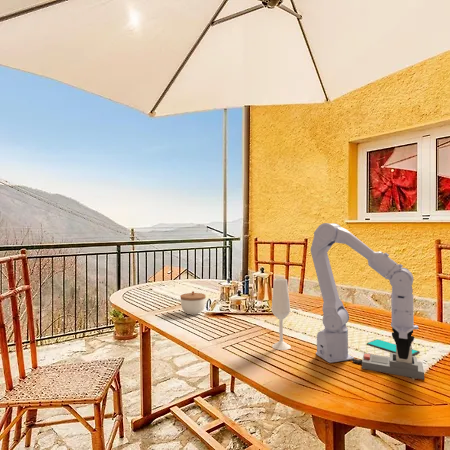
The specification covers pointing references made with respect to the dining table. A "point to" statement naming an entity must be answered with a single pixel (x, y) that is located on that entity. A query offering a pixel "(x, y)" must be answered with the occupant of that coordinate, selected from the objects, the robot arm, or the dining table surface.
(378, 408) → the dining table surface
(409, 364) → the power strip
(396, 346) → the block
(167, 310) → the dining table surface
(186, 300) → the lidded sugar bowl
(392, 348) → the smartphone
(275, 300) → the champagne flute
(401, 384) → the dining table surface
